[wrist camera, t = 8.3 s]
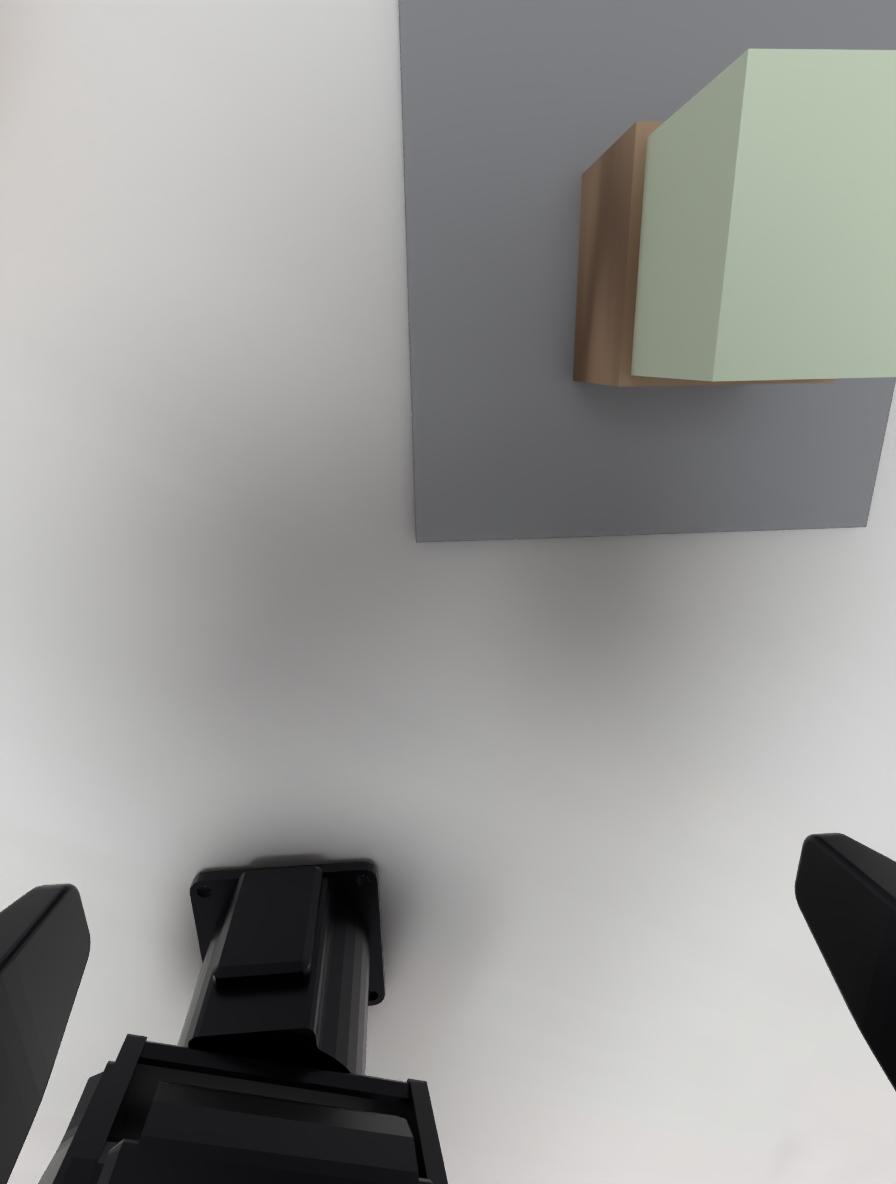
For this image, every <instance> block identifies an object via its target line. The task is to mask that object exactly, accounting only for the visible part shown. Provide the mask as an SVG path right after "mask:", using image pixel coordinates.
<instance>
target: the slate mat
mask: <svg viewBox="0 0 896 1184" xmlns="http://www.w3.org/2000/svg"><path fill="white" fill-rule="evenodd" d="M399 24H400V55H401V87H402V118H403V150H404V181H405V213H406V244H407V276H408V307H409V339H410V370H411V402H412V433H413V465H414V496H415V528H416V542H443V541H472V540H502V539H531V538H560V537H589V536H618V535H647V534H677V533H706V532H735V531H764V530H793V529H822V528H852V527H866V525H867V520H868V515H869V510H870V505H871V501H872V496H873V491H874V486H875V481H876V476H877V471H878V466H879V461H880V456H881V451H882V446H883V441H884V436H885V431H886V426H887V421H888V416H889V411H890V406H891V401H892V396H893V391H894V386H895V382H896V377H878V378H837V379H835V380H834V383H791V384H738V385H685V386H632V387H616V386H609V385H601V384H593V383H586V382H578V381H573V364H574V343H575V321H576V300H577V278H578V256H579V235H580V213H581V191H582V174H583V173H584V172H585V171H586V170H587V169H588V168H589V167H590V166H591V165H592V164H593V163H594V162H595V161H596V160H597V159H598V158H599V157H600V156H601V155H602V154H603V153H604V152H605V151H606V150H607V149H608V148H610V147H611V146H612V145H613V144H614V143H615V142H616V141H617V140H618V139H619V138H620V137H621V136H622V135H623V134H624V133H625V132H626V131H627V130H628V129H629V128H630V127H631V126H632V125H633V124H634V123H635V122H636V121H666V120H667V119H668V118H670V117H671V116H672V115H673V114H674V113H675V112H676V111H678V110H679V109H680V108H681V107H682V106H683V105H684V104H686V103H687V102H688V101H689V100H690V99H691V98H692V97H694V96H695V95H696V94H697V93H698V92H699V91H701V90H702V89H703V88H704V87H705V86H706V85H707V84H709V83H710V82H711V81H712V80H713V79H714V78H715V77H717V76H718V75H719V74H720V73H721V72H722V71H724V70H725V69H726V68H727V67H728V66H729V65H730V64H732V63H733V62H734V61H735V60H736V59H737V58H738V57H740V56H741V55H742V54H743V53H744V52H745V51H746V50H748V49H840V50H896V0H399Z"/></svg>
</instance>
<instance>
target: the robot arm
mask: <svg viewBox="0 0 896 1184" xmlns="http://www.w3.org/2000/svg"><path fill="white" fill-rule="evenodd" d="M362 875H365V876H368V878H365V879H364V878H360V877H359V876H362ZM202 886H207V887H209V888H211V889H204V888H203V887H202ZM795 895H796V900H797V903H798V906H799V908H800V910H801V912H802V914H803V916H804V918H805V920H806V922H807V924H808V927H809V929H810V931H811V933H812V935H813V937H814V939H815V941H816V943H817V945H818V947H819V949H820V951H821V953H822V955H823V957H824V959H825V962H826V964H827V966H828V968H829V970H830V972H831V974H832V976H833V978H834V980H835V982H836V984H837V986H838V988H839V990H840V992H841V994H842V996H843V999H844V1001H845V1003H846V1005H847V1007H848V1009H849V1011H850V1013H851V1015H852V1016H853V1018H854V1020H855V1022H856V1024H857V1026H858V1028H859V1030H860V1032H861V1033H862V1035H863V1037H864V1039H865V1040H866V1042H867V1044H868V1045H869V1047H870V1049H871V1051H872V1052H873V1054H874V1056H875V1057H876V1059H877V1061H878V1062H879V1064H880V1066H881V1067H882V1069H883V1071H884V1072H885V1074H886V1076H887V1077H888V1079H889V1081H890V1082H891V1084H892V1086H893V1087H894V1089H895V1091H896V862H895V861H893V860H891V859H890V858H888V857H886V856H884V855H882V854H880V853H878V852H876V851H874V850H872V849H871V848H869V847H867V846H865V845H863V844H861V843H859V842H857V841H855V840H853V839H852V838H850V837H848V836H846V835H844V834H840V833H824V834H812V835H809V836H808V837H807V838H806V839H805V840H804V842H803V846H802V851H801V856H800V861H799V866H798V871H797V876H796V881H795ZM190 896H191V902H192V907H193V913H194V918H195V924H196V929H197V935H198V940H199V945H200V951H201V956H202V962H203V966H202V969H201V972H200V975H199V979H198V982H197V985H196V988H195V991H194V994H193V998H192V1001H191V1004H190V1007H189V1010H188V1014H187V1017H186V1020H185V1023H184V1026H183V1029H182V1033H181V1036H180V1039H179V1042H178V1045H177V1046H176V1045H169V1044H163V1043H157V1042H150V1041H147V1037H144V1036H138V1035H131V1034H127V1036H126V1039H125V1041H124V1043H123V1045H122V1048H121V1050H120V1052H119V1054H118V1057H117V1059H116V1061H115V1062H113V1061H108V1063H107V1065H106V1067H105V1070H104V1072H102V1073H99V1074H97V1075H95V1076H92V1077H90V1078H89V1079H88V1082H87V1084H86V1086H85V1089H84V1091H83V1093H82V1096H81V1098H80V1101H79V1103H78V1105H77V1108H76V1110H75V1112H74V1115H73V1117H72V1119H71V1122H70V1124H69V1126H68V1129H67V1131H66V1133H65V1135H64V1137H63V1139H62V1142H61V1144H60V1146H59V1148H58V1150H57V1151H56V1153H55V1155H54V1157H53V1159H52V1160H51V1162H50V1164H49V1166H48V1167H47V1169H46V1171H45V1173H44V1174H43V1176H42V1178H41V1179H40V1181H39V1183H38V1184H448V1181H447V1177H446V1172H445V1167H444V1162H443V1158H442V1153H441V1148H440V1143H439V1138H438V1134H437V1129H436V1124H435V1119H434V1115H433V1110H432V1105H431V1100H430V1096H429V1091H428V1086H427V1082H426V1081H420V1080H414V1079H408V1080H407V1082H403V1081H396V1080H390V1079H384V1078H378V1077H371V1076H365V1063H366V1038H367V1013H368V1006H372V1005H377V1004H379V1003H380V1002H382V1001H383V999H384V996H385V978H384V962H383V946H382V930H381V914H380V898H379V882H378V871H377V868H376V867H375V866H374V864H372V863H369V862H349V863H334V864H319V865H304V866H289V867H274V868H259V869H244V870H229V871H214V872H204V873H200V874H198V875H197V876H196V877H195V878H194V880H193V882H192V885H191V888H190ZM89 952H90V933H89V929H88V925H87V921H86V917H85V913H84V909H83V906H82V902H81V898H80V894H79V891H78V889H77V888H76V887H75V886H74V885H72V884H55V885H42V886H38V887H35V888H34V889H32V890H30V891H29V892H27V893H26V894H25V895H23V896H22V897H21V898H19V899H18V900H16V901H15V902H14V903H12V904H11V905H10V906H8V907H7V908H5V909H4V910H3V911H1V912H0V1184H7V1182H8V1179H9V1177H10V1175H11V1172H12V1170H13V1168H14V1165H15V1163H16V1161H17V1158H18V1156H19V1154H20V1151H21V1149H22V1147H23V1144H24V1142H25V1140H26V1137H27V1135H28V1133H29V1130H30V1128H31V1126H32V1123H33V1121H34V1118H35V1116H36V1113H37V1111H38V1108H39V1106H40V1103H41V1101H42V1098H43V1095H44V1092H45V1089H46V1087H47V1084H48V1081H49V1078H50V1075H51V1072H52V1069H53V1066H54V1063H55V1060H56V1056H57V1053H58V1050H59V1047H60V1044H61V1041H62V1038H63V1035H64V1032H65V1029H66V1025H67V1022H68V1019H69V1016H70V1013H71V1010H72V1007H73V1004H74V1001H75V998H76V994H77V991H78V988H79V985H80V982H81V979H82V976H83V973H84V970H85V967H86V963H87V960H88V957H89Z"/></svg>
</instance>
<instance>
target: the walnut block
mask: <svg viewBox="0 0 896 1184" xmlns="http://www.w3.org/2000/svg"><path fill="white" fill-rule="evenodd" d="M664 122H665V121H636V122H635V123H634V124H633V125H632V126H631V127H630V128H629V129H628V130H627V131H626V132H625V133H624V134H623V135H622V136H621V137H620V138H619V139H618V140H617V141H616V142H615V143H614V144H613V145H612V146H611V147H610V148H608V149H607V150H606V151H605V152H604V153H603V154H602V155H601V156H600V157H599V158H598V159H597V160H596V161H595V162H594V163H593V164H592V165H591V166H590V167H589V168H588V169H587V170H586V171H585V172H584V173H583V174H582V191H581V213H580V235H579V256H578V278H577V300H576V321H575V343H574V364H573V381H578V382H586V383H593V384H601V385H609V386H616V387H632V386H685V385H738V384H791V383H834V380H835V379H795V380H754V381H713V382H712V381H699V380H686V379H673V378H659V377H646V376H633V375H631V365H632V351H633V336H634V322H635V307H636V293H637V278H638V264H639V249H640V235H641V220H642V206H643V191H644V177H645V162H646V148H647V137H648V136H649V135H650V134H651V133H652V132H653V131H655V130H656V129H657V128H658V127H659V126H660V125H661V124H663V123H664Z"/></svg>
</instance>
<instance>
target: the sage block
mask: <svg viewBox="0 0 896 1184" xmlns="http://www.w3.org/2000/svg"><path fill="white" fill-rule="evenodd" d="M631 375H633V376H646V377H659V378H673V379H686V380H699V381H712V382H713V381H754V380H795V379H837V378H878V377H896V50H840V49H748V50H746V51H745V52H744V53H743V54H742V55H741V56H740V57H738V58H737V59H736V60H735V61H734V62H733V63H732V64H730V65H729V66H728V67H727V68H726V69H725V70H724V71H722V72H721V73H720V74H719V75H718V76H717V77H715V78H714V79H713V80H712V81H711V82H710V83H709V84H707V85H706V86H705V87H704V88H703V89H702V90H701V91H699V92H698V93H697V94H696V95H695V96H694V97H692V98H691V99H690V100H689V101H688V102H687V103H686V104H684V105H683V106H682V107H681V108H680V109H679V110H678V111H676V112H675V113H674V114H673V115H672V116H671V117H670V118H668V119H667V120H666V121H665V122H664V123H663V124H661V125H660V126H659V127H658V128H657V129H656V130H655V131H653V132H652V133H651V134H650V135H649V136H648V137H647V148H646V162H645V177H644V191H643V206H642V220H641V235H640V249H639V264H638V278H637V293H636V307H635V322H634V336H633V351H632V365H631Z"/></svg>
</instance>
